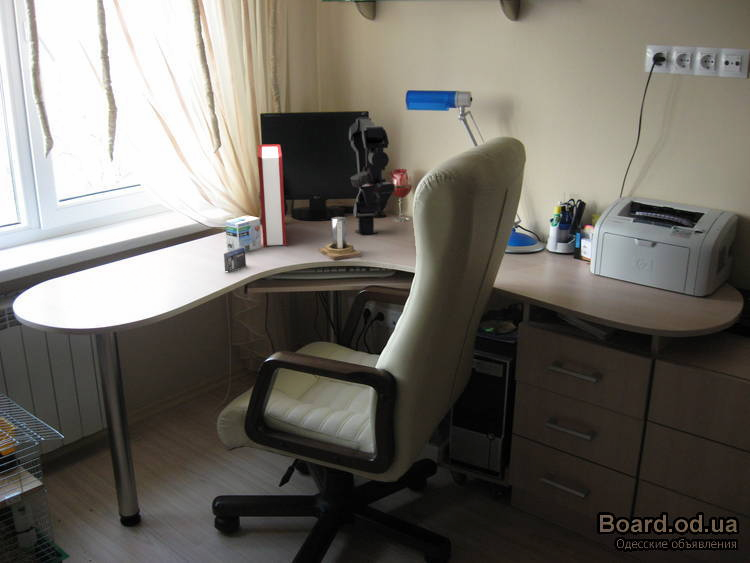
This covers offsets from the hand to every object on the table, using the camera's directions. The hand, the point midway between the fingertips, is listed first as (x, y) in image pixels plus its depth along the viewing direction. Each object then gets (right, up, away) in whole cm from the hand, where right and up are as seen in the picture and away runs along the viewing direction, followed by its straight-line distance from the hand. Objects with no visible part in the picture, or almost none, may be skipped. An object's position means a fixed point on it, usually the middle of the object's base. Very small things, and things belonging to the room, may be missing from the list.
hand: (374, 208), depth 257 cm
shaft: (-12, -15, -7) cm, 20 cm away
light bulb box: (-45, -14, 0) cm, 48 cm away
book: (-37, -9, +15) cm, 41 cm away
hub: (-12, -16, -6) cm, 21 cm away
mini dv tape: (-44, -22, -21) cm, 54 cm away
